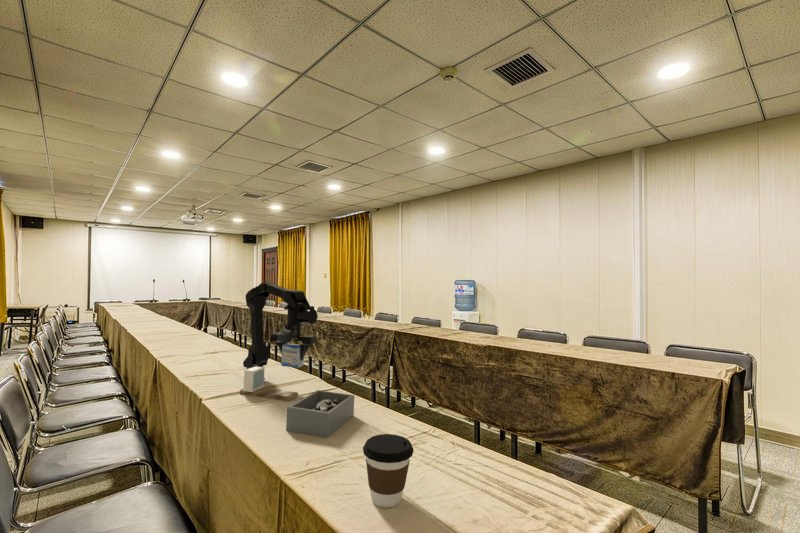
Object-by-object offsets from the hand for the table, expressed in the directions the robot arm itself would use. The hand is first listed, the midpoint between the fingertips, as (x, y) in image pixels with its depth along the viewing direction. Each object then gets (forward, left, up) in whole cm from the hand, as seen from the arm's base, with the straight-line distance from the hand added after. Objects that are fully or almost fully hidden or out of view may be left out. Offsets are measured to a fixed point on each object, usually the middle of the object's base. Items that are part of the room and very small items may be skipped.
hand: (292, 359), depth 156 cm
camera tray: (+27, -26, -13) cm, 40 cm away
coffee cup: (+60, -59, -13) cm, 85 cm away
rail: (-5, -9, -13) cm, 16 cm away
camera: (+29, -27, -13) cm, 41 cm away
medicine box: (0, 0, -3) cm, 3 cm away
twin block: (-12, -9, -11) cm, 18 cm away
